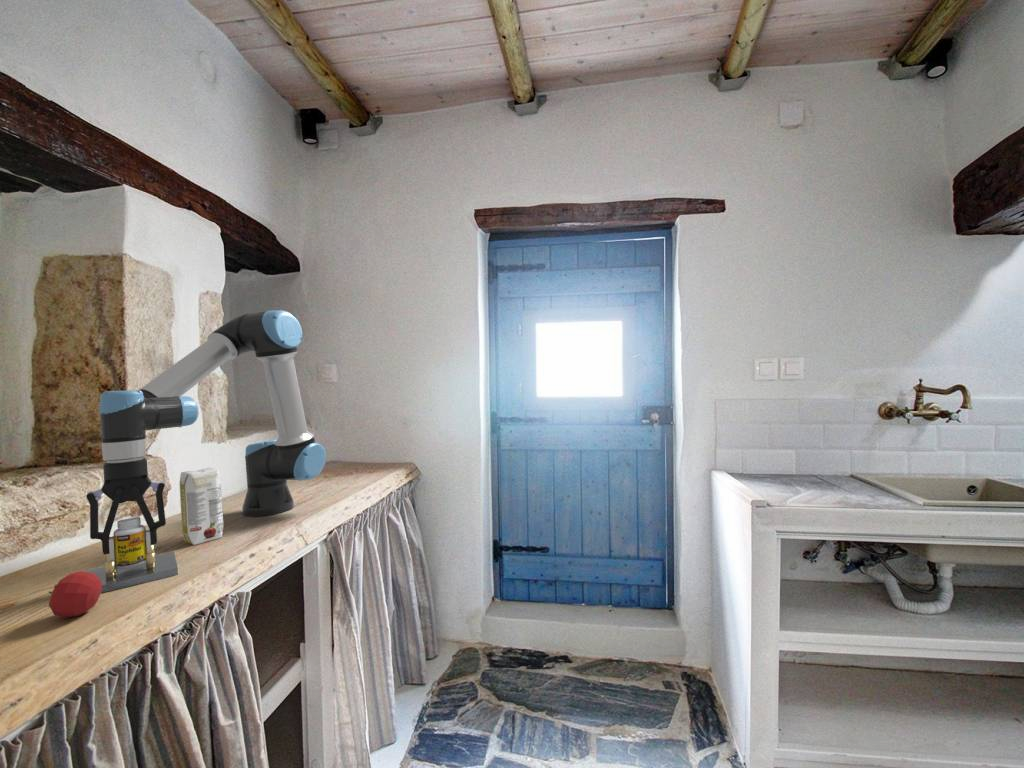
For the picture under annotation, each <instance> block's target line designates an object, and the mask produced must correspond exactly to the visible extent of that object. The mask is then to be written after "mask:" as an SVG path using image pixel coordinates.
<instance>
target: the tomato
mask: <svg viewBox="0 0 1024 768" xmlns="http://www.w3.org/2000/svg"><path fill="white" fill-rule="evenodd" d="M101 590H102V582H101V580H100V579H99V577H98V576H97V575H96V574H94V573H89V572H86V571H82V570H79V571H75V572H71V573H69V574H67V575H66V576H64V577H63V578H62V579H60V580H59V581H58V582H57V583H56V584H54V588H53V590H52V591H48V594H50V598H49V602H48V607H49V609H50V610H51V612H52V613H53V615H54V616H57V617H61V618H64V619H65V618H67V619H69V618H73V617H81V615H83V614H85V613H86V612H88V611H89V610H91V609H92V608H94V607H95V605H97V602H98V601H99V598H100V597H101V594H102V593H101Z"/></svg>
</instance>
